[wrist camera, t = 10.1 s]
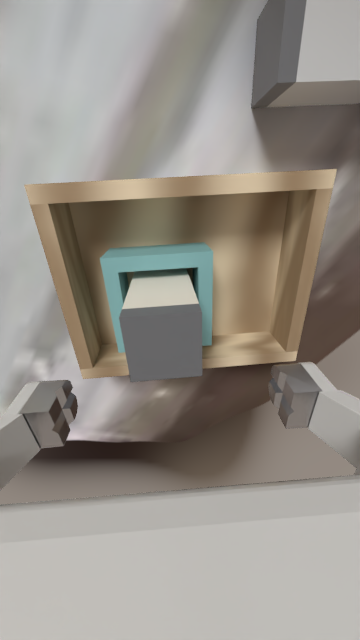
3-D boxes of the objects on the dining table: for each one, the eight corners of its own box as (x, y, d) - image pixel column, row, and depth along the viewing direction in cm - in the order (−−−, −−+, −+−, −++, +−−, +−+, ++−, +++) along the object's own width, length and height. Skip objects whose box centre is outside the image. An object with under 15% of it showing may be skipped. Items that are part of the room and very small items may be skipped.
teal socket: (204, 242, 19) (213, 251, 16) (204, 324, 22) (211, 345, 19) (109, 248, 19) (99, 258, 15) (124, 330, 22) (118, 352, 19)
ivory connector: (185, 264, 20) (202, 311, 12) (186, 309, 21) (202, 375, 13) (135, 268, 19) (118, 317, 11) (141, 312, 21) (130, 382, 13)
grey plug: (402, 16, 14) (481, -41, 11) (380, 103, 16) (441, 77, 13) (257, 20, 14) (289, -39, 11) (251, 108, 16) (277, 82, 12)
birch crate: (299, 174, 18) (336, 168, 14) (274, 335, 24) (295, 360, 21) (54, 187, 17) (24, 184, 13) (95, 349, 24) (83, 379, 20)
